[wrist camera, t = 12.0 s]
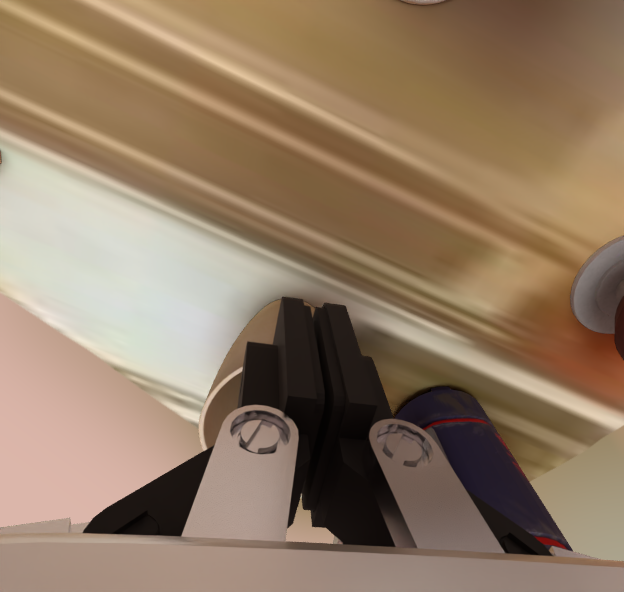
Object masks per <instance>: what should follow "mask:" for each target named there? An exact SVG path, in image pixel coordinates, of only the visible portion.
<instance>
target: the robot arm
mask: <svg viewBox="0 0 624 592" xmlns="http://www.w3.org/2000/svg"><path fill="white" fill-rule="evenodd" d="M401 1H404V2H407V3H410V4H420V5H428V4H434V3H440V2H443V1H446V0H401ZM301 493H302V505H303V509H304V510H311V519H312V527H323V528H327V529H328V530H329V531H330V532H331V533H332V534H334V535H335V536H334V541H333V544H325V543H306V542H285V540H286V533H287V528H288V527H289V526H291V525H292V524H293V521H294V517H295V514H296V510H297V507H298V504H299V500H300V497H301ZM0 592H624V561H613V560H601V559H597V558H594V557H590V556H587V555H583V554H580V553H576V552H572V551H569V550H565V549H562V548H558V547H555V546H552V547H551V548H550V550H548V549H547V548H546V547H545V546H544V544H543V543H541V542H540V541H539V540H538V539H536V538H535V537H534V536H533V535H532V534H530V533H529V532H527V531H526V530H524V529H523V528H522V527H520V526H519V525H517V524H516V523H514V522H513V521H511V520H510V519H509V518H507V517H506V516H504V515H503V514H501V513H500V512H498V511H497V510H496V509H494V508H493V507H491V506H490V505H488V504H487V503H485V502H484V501H483V500H481V499H480V498H478V497H477V496H475V495H474V494H472V493H471V492H470V491H468V490H467V489H465V488H464V486H463V485H462V483H461V482H460V480H459V478H458V477H457V475H456V474H455V472H454V470H453V469H452V467H451V466H450V464H449V462H448V461H447V459H446V458H445V456H444V454H443V453H442V451H441V450H440V448H439V446H438V445H437V443H436V442H435V441H434V440H433V438H432V437H431V436H430V435H429V434H428V433H426V432H425V431H424V430H423V429H421V428H420V427H418V426H416V425H414V424H412V423H410V422H406V421H403V420H399V419H394V418H393V415H392V412H391V409H390V407H389V404H388V401H387V398H386V395H385V393H384V390H383V387H382V384H381V381H380V378H379V376H378V373H377V370H376V367H375V364H374V362H373V360H372V358H371V357H368V356H362V355H361V352H360V349H359V346H358V343H357V340H356V337H355V334H354V330H353V327H352V324H351V321H350V318H349V315H348V312H347V309H346V306H344V305H337V304H330V303H324V304H323V307H322V308H320V307H316V308H315V311H314V314H313V318H312V312H311V307H310V306H306V305H304V301H303V300H302V299H295V298H288V297H282V299H281V303H280V308H279V313H278V318H277V324H276V329H275V334H274V339H273V344H265V343H257V342H249V341H247V345H246V350H245V356H244V362H243V369H242V375H241V382H240V390H239V398H238V407H237V409H236V410H234V411H233V412H231V413H230V414H229V415H228V416H227V417H226V419H225V420H224V422H223V424H222V427H221V429H220V432H219V435H218V437H217V440H216V443H215V445H213V446H212V447H210V448H208V449H207V450H205V451H203V452H201V453H200V454H198V455H196V456H195V457H193V458H191V459H189V460H188V461H186V462H184V463H183V464H181V465H179V466H177V467H176V468H174V469H172V470H171V471H169V472H167V473H165V474H164V475H162V476H160V477H159V478H157V479H155V480H153V481H152V482H150V483H148V484H147V485H145V486H143V487H141V488H140V489H138V490H136V491H135V492H133V493H131V494H129V495H128V496H126V497H125V498H123V499H121V500H119V501H117V502H116V503H114V504H112V505H111V506H109V507H107V508H106V509H104V510H103V511H102V512H100V513H99V514H98V515H96V516H95V517H94V518H93V519H92V521H91V522H88V523H81V524H74V525H71V521H70V518H66V519H59V520H52V521H45V522H37V523H30V524H22V525H16V526H8V527H1V528H0Z"/></svg>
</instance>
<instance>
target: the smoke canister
mask: <svg viewBox="0 0 624 592" xmlns="http://www.w3.org/2000/svg"><path fill="white" fill-rule="evenodd" d="M431 390H432V392H428V393H425V394H423V395H420V396H418V397H417V398H415V399H413V400H412V401H410V402H409V403H408V404H406V405H405V406H404V407H403V408H402V409H401V410H400V412H399V413H398V414H396V416H395V418H394V419H399V420H403V421H406V422H410V423H412V424H414V425H416V426H418V427H420V428H421V429H423V430H424V431H425V432H426V433H428V434H429V435H430V436H431V437H432V438H433V440H434V441H435V442H436V443H437V445H438V446H439V448H440V450H441V451H442V453H443V454H444V456H445V458H446V459H447V461H448V462H449V464H450V466H451V467H452V469H453V470H454V472H455V474H456V475H457V477H458V478H459V480H460V482H461V483H462V485H463V486H464V488H465V489H467V490H468V491H470V492H471V493H472V494H474V495H475V496H477V497H478V498H480V499H481V500H483V501H484V502H485V503H487V504H488V505H490V506H491V507H493V508H494V509H496V510H497V511H498V512H500V513H501V514H503V515H504V516H506V517H507V518H509V519H510V520H511V521H513V522H514V523H516V524H517V525H519V526H520V527H522V528H523V529H524V530H526V531H527V532H529V533H530V534H532V535H533V536H534V537H535V538H536V539H538V540H539V541H540V542H541V543H543V544H544V546H545V547H546V548H547V549H548V550H550V548H551V547H552V546H555V547H558V548H562V549H565V550H569V551H572V552H573V550H572V548H571V547H570V545H569V544H568V542H567V541H566V539H565V537H564V536H563V534H562V533H561V531H560V530H559V528H558V527H557V525H556V523H555V522H554V521H553V519H552V517H551V515H550V514H549V512H548V511H547V509H546V508H545V506H544V504H543V503H542V501H541V500H540V498H539V496H538V495H537V493H536V492H535V490H534V489H533V487H532V485H531V484H530V482H529V481H528V479H527V478H526V476H525V474H524V473H523V471H522V470H521V468H520V467H519V465H518V463H517V462H516V460H515V459H514V457H513V456H512V454H511V452H510V451H509V449H508V448H507V446H506V445H505V443H504V441H503V440H502V438H501V437H500V435H499V434H498V433H497V431H496V429H495V427H494V426H493V424H492V423H491V421H490V420H489V418H488V416H487V415H486V413H485V412H484V410H483V408H482V407H481V405H480V404H479V403H478V401H477V400H476V399H475V398H473V397H472V396H471V395H469V394H467V393H464V392H462V391H457V390H451V389H450V388H449V387H435V388H431Z"/></svg>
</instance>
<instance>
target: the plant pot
mask: <svg viewBox="0 0 624 592" xmlns="http://www.w3.org/2000/svg"><path fill="white" fill-rule="evenodd" d="M280 303H281V299H280V300H276V301H274V302H271V303H270V304H268V305H267V306H265V307H264V308H263V309H262V310H261V311H260V312H259V313H258V314H256V315H255V317H254V318H253V319H252V320H251V321H250V322H249V323H248V324H247V326H246V327H245V328H244V329H243V331H242V332H241V333H240V335H239V336H238V338H237V339H236V341H235V342H234V344H233V345H232V347H231V349H230V350H229V352H228V354H227V355H226V357H225V359H224V361H223V363H222V365H221V367H220V369H219V371H218V373H217V375H216V378H215V380H214V382H213V385H212V387H211V389H210V391H209V394H208V396H207V399H206V401H205V404H204V406H203V409H202V412H201V415H200V419H199V439H200V443H201V446H202V449H203V451H205V450H207V449H208V448H210V447H212V446H213V445H215V443H216V440H217V437H218V435H219V432H220V429H221V427H222V424H223V422H224V420H225V419H226V417H227V416H228V415H229V414H230V413H231V412H233V411H234V410H236V409H237V407H238V398H239V390H240V382H241V375H242V369H243V362H244V356H245V350H246V345H247V341H249V342H257V343H265V344H273V339H274V334H275V329H276V324H277V318H278V313H279V308H280ZM304 305H306V306H310V307H311V312H312V318H313V314H314V311H315V308H314V307H313V306H311V305H310V304H308V303H306V302H304ZM301 495H302V493H301Z"/></svg>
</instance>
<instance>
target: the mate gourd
mask: <svg viewBox="0 0 624 592" xmlns="http://www.w3.org/2000/svg"><path fill="white" fill-rule="evenodd" d="M570 301H571V308H572V311H573V314H574V315H575V317H576V318H577V320H578V321H579V322H581V323H582V324H583V325H584V326H585V327H587V328H588V329H590V330H592V331H595V332H599V333H607V334H613V333H615V344H616V348H617V350H618V352H619V354H620V355H621V357H622V358H623V360H624V236H621V237H619V238H617V239H614V240H612V241H610V242H608V243H607V244H605V245H604V246H603V247H601V248H600V249H598V250H597V251H596V252H595V253H594V254H593V255H592V256H591V257H589V259H588V260H587V261H586V262H585V263H584V265H583V266H582V267H581V269H580V270H579V272H578V274H577V276H576V277H575V280H574V283H573V285H572V289H571V295H570Z"/></svg>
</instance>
